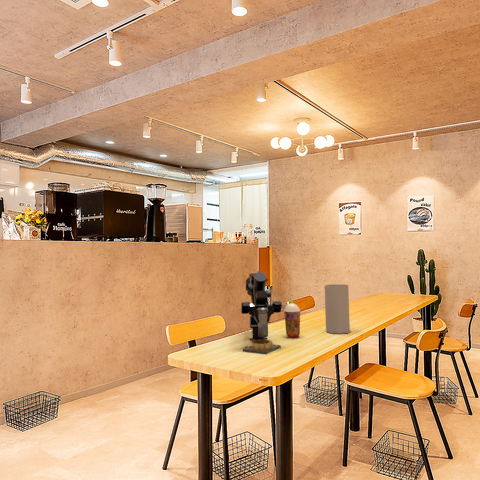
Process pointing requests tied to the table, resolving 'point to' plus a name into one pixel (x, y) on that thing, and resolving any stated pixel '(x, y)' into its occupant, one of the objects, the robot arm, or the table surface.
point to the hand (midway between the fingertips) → (263, 322)
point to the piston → (262, 321)
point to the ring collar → (261, 346)
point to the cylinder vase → (337, 309)
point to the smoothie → (292, 320)
